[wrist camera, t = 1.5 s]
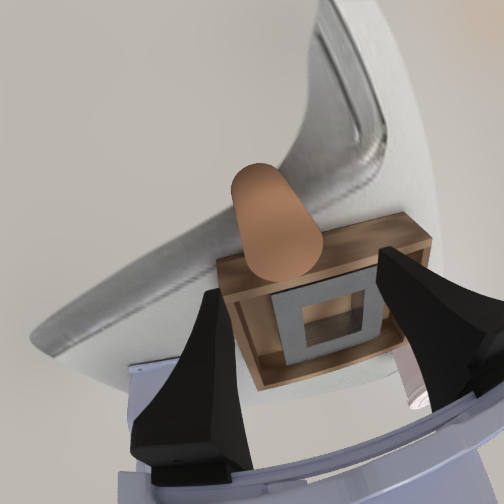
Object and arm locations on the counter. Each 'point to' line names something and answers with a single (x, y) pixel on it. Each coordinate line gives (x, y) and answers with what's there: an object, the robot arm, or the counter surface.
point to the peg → (274, 225)
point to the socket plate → (331, 328)
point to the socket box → (329, 264)
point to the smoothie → (411, 377)
